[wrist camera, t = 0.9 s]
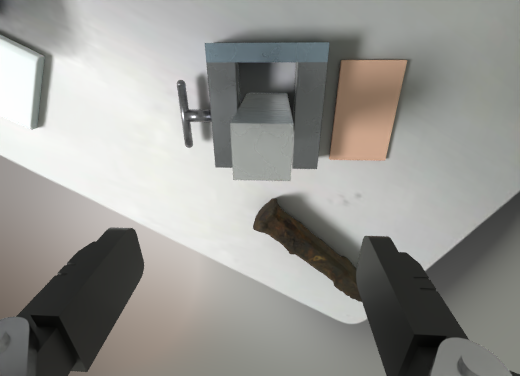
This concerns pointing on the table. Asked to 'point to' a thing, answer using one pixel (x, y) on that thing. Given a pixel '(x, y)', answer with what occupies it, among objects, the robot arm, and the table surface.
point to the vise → (228, 95)
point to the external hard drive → (20, 83)
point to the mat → (365, 108)
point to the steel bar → (262, 138)
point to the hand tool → (307, 247)
